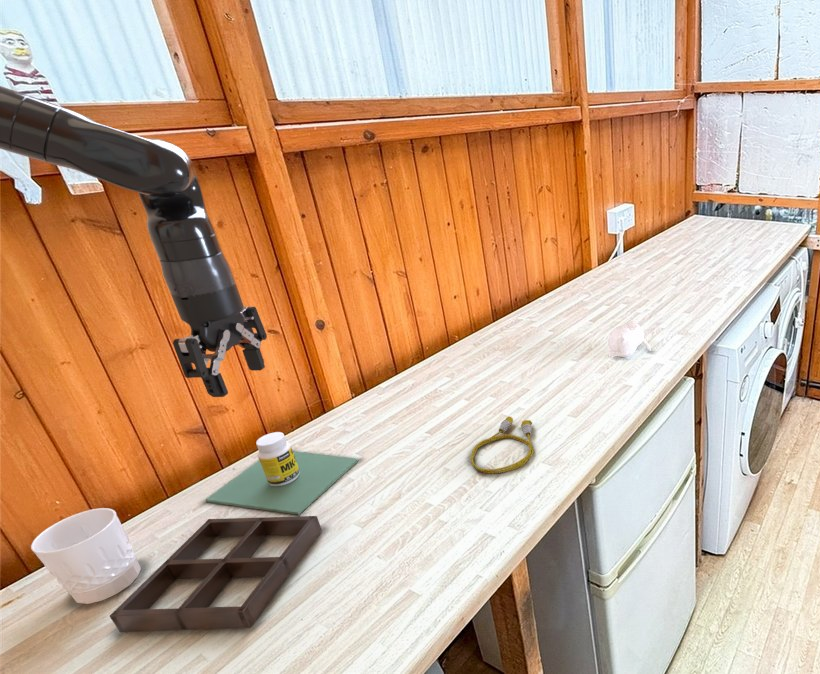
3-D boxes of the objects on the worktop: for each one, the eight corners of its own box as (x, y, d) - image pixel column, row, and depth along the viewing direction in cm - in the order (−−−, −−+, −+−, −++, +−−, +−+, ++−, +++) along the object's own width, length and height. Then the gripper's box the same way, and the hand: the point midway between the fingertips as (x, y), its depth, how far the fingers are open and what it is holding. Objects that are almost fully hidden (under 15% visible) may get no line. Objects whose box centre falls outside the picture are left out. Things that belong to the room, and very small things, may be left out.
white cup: (144, 551, 77) (115, 499, 73) (148, 583, 72) (116, 528, 68) (69, 583, 72) (33, 529, 68) (67, 619, 67) (28, 563, 63)
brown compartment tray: (119, 632, 65) (108, 615, 64) (215, 533, 80) (208, 518, 79) (250, 628, 66) (242, 611, 64) (322, 530, 81) (316, 515, 79)
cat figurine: (632, 310, 137) (611, 325, 127) (663, 335, 136) (644, 352, 126) (617, 333, 142) (596, 349, 132) (647, 357, 141) (627, 375, 131)
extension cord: (558, 436, 102) (557, 427, 101) (502, 483, 90) (500, 474, 89) (512, 420, 108) (510, 411, 107) (452, 462, 95) (450, 453, 94)
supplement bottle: (289, 487, 89) (273, 447, 86) (262, 487, 89) (245, 447, 86) (306, 469, 93) (292, 430, 90) (280, 469, 94) (265, 430, 90)
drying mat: (206, 501, 87) (205, 499, 87) (275, 451, 99) (274, 448, 99) (298, 515, 84) (297, 512, 83) (358, 460, 96) (357, 458, 96)
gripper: (213, 271, 82) (246, 362, 89) (133, 302, 69) (179, 406, 76) (261, 270, 82) (290, 361, 89) (190, 301, 69) (231, 405, 76)
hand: (239, 382), depth 83 cm, fingers open, 8 cm apart
